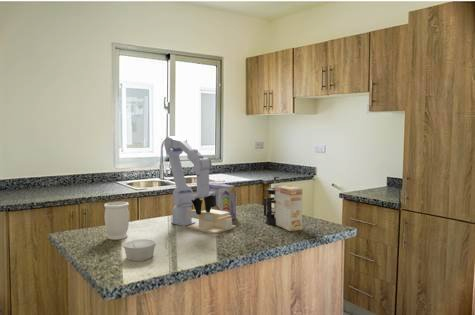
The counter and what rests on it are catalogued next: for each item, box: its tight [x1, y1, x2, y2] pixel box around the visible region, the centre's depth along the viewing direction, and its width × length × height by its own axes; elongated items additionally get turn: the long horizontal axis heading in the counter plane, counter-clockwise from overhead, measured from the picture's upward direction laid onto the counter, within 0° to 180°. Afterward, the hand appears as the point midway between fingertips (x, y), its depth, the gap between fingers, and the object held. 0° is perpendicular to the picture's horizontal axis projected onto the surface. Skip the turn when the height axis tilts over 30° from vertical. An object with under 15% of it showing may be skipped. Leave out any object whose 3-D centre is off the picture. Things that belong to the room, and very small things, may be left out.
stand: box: [186, 209, 237, 235], centre depth 186 cm, size 15×18×7 cm
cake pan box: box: [209, 182, 237, 220], centre depth 208 cm, size 19×5×18 cm, turn 42°
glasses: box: [190, 208, 232, 222], centre depth 185 cm, size 12×16×4 cm
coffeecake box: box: [273, 183, 303, 232], centre depth 186 cm, size 15×7×20 cm, turn 24°
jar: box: [103, 201, 130, 241], centre depth 170 cm, size 11×10×15 cm
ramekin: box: [123, 238, 156, 262], centre depth 144 cm, size 11×11×5 cm
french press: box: [263, 176, 280, 226], centre depth 194 cm, size 12×9×23 cm
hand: (203, 213), depth 182 cm, fingers open, 6 cm apart
